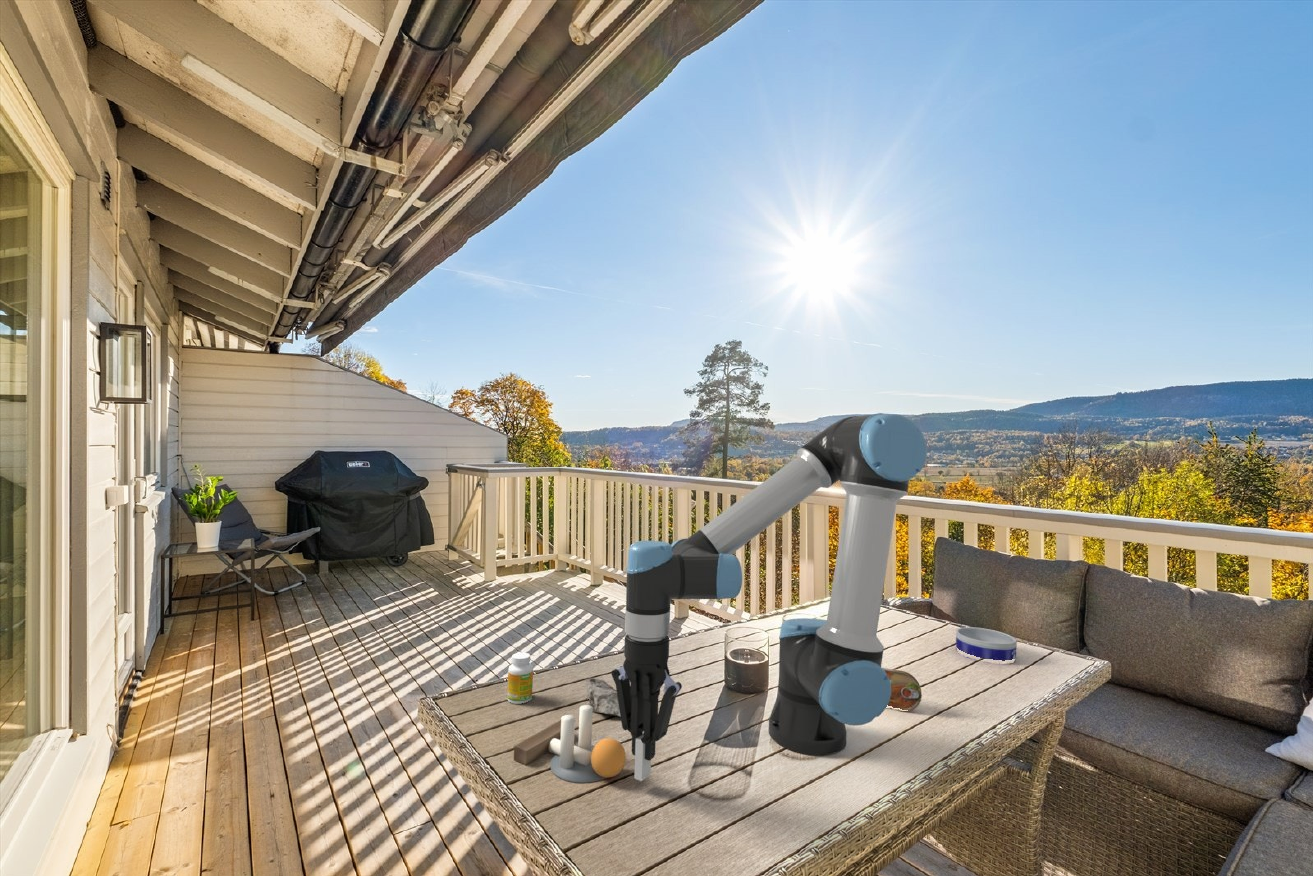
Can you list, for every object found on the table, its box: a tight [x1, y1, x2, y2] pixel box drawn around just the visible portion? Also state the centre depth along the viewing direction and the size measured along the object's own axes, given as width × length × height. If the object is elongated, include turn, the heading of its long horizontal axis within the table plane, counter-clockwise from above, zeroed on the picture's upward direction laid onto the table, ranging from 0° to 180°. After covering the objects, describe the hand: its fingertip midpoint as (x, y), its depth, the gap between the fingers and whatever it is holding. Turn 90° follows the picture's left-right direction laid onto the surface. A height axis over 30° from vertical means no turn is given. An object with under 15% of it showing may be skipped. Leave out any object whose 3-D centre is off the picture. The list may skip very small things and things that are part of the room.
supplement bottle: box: [506, 652, 534, 705], centre depth 130 cm, size 5×5×10 cm
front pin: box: [548, 738, 592, 766], centre depth 106 cm, size 2×2×8 cm
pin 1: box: [560, 714, 576, 769], centre depth 103 cm, size 2×2×8 cm
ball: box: [591, 737, 626, 779], centre depth 101 cm, size 6×6×6 cm
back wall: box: [513, 719, 561, 766], centre depth 110 cm, size 3×13×2 cm, turn 147°
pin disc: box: [549, 745, 607, 784], centre depth 104 cm, size 12×12×1 cm
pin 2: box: [577, 704, 594, 751], centre depth 108 cm, size 2×2×8 cm
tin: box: [882, 667, 923, 712], centre depth 133 cm, size 15×3×8 cm, turn 65°
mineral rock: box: [584, 677, 621, 718], centre depth 128 cm, size 15×8×4 cm, turn 16°
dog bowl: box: [955, 626, 1018, 661], centre depth 169 cm, size 15×15×6 cm
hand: (642, 776), depth 98 cm, fingers closed
